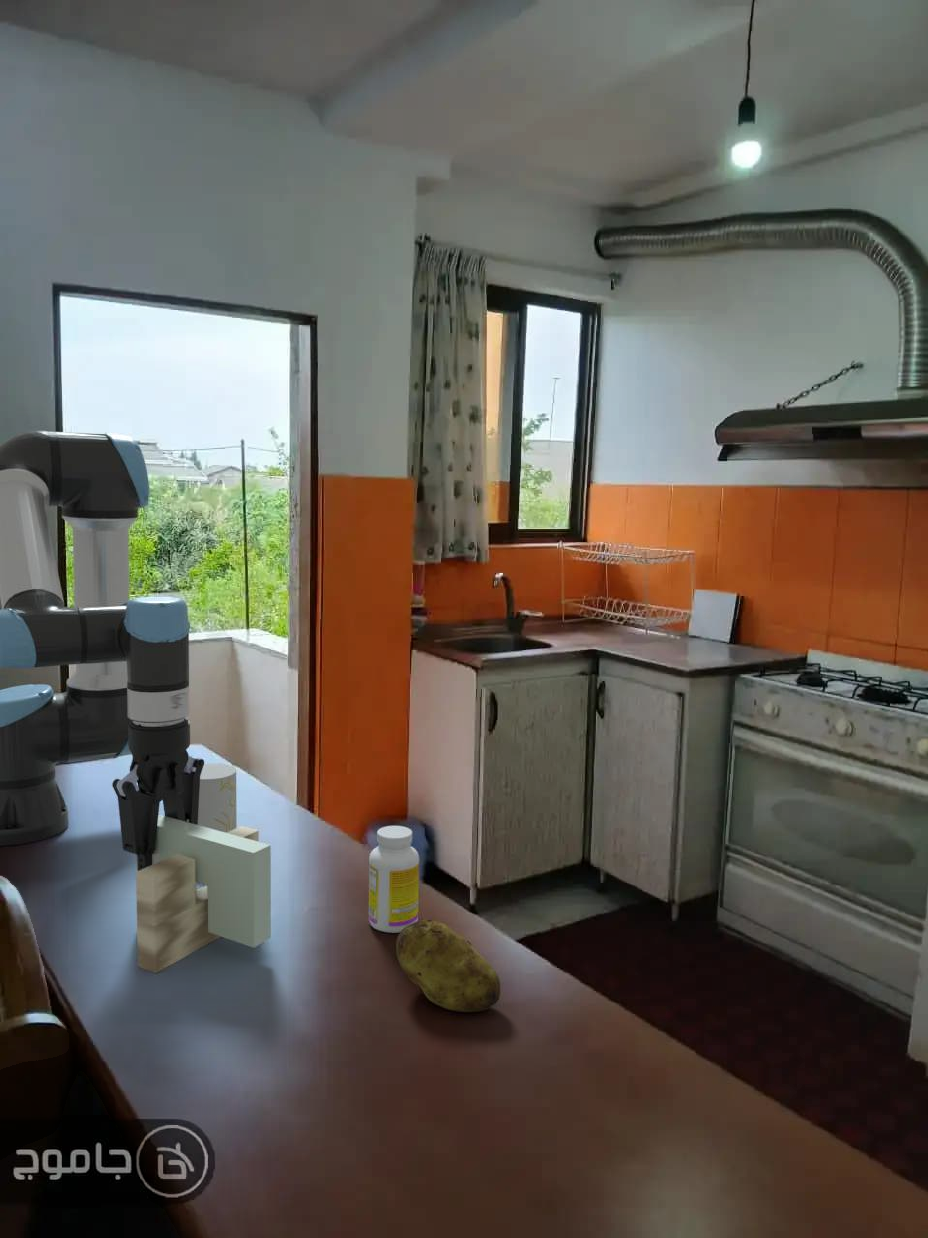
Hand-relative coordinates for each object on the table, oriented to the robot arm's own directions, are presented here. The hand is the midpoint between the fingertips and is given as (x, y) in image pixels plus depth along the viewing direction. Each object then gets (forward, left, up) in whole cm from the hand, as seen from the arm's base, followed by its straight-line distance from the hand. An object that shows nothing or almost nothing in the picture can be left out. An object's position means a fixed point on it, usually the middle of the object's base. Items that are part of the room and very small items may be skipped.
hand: (162, 893), depth 122 cm
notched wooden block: (+7, 0, -4) cm, 8 cm away
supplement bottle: (+25, +17, -5) cm, 31 cm away
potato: (+40, +5, -5) cm, 41 cm away
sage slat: (+7, 0, -2) cm, 7 cm away
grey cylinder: (-15, +24, -5) cm, 29 cm away
